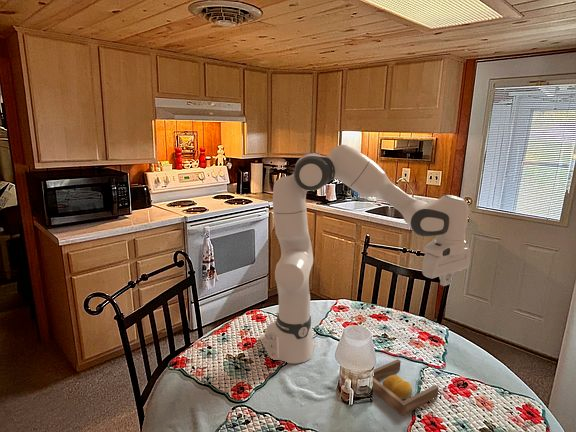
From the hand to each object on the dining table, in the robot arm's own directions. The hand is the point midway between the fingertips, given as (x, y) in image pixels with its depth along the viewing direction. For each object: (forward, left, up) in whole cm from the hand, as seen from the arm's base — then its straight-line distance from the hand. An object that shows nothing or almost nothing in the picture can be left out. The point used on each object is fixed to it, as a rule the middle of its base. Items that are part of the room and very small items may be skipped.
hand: (444, 284), depth 130 cm
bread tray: (+4, -22, -29) cm, 36 cm away
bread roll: (+4, -23, -30) cm, 38 cm away
